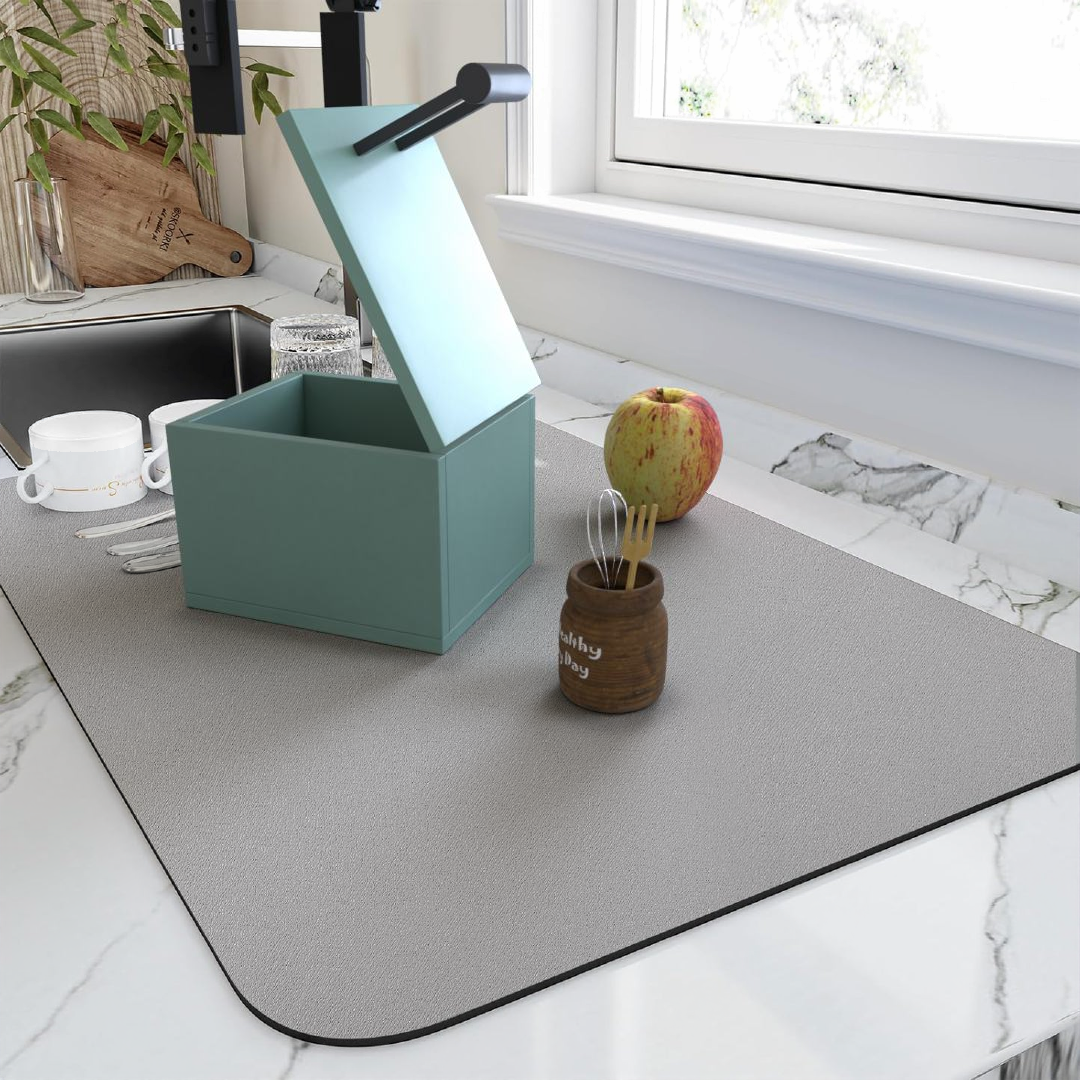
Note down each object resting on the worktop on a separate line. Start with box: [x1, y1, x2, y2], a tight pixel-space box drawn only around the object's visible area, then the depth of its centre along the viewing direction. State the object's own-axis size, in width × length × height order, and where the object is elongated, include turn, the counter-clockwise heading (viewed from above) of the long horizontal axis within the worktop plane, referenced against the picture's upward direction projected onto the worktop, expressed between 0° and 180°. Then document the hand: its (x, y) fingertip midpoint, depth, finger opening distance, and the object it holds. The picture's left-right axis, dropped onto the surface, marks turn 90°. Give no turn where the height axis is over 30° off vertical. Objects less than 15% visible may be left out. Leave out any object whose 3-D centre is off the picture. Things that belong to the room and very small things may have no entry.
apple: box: [603, 386, 724, 523], centre depth 88 cm, size 9×9×10 cm
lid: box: [274, 62, 542, 452], centre depth 66 cm, size 19×15×10 cm
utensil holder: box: [557, 489, 669, 714], centre depth 62 cm, size 6×6×12 cm
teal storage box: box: [164, 369, 536, 655], centre depth 75 cm, size 18×15×12 cm
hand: (289, 129), depth 68 cm, fingers open, 13 cm apart
